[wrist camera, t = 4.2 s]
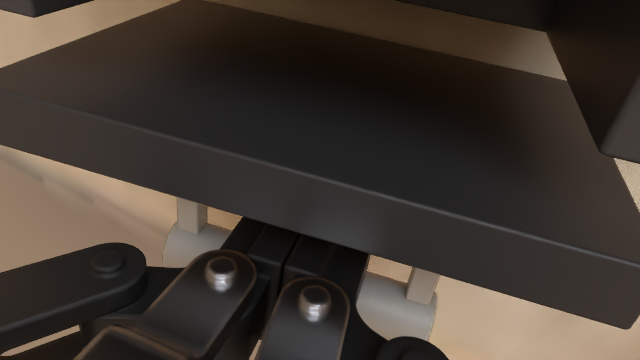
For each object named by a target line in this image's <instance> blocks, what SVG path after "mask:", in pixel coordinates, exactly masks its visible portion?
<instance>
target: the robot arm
mask: <svg viewBox="0 0 640 360" xmlns="http://www.w3.org/2000/svg"><path fill="white" fill-rule="evenodd" d="M370 255H371V254H368V253H365V252H361V251H358V250H355V249H351V248H348V247H345V246H341V245H338V244H334V243H331V242H328V241H324V240H321V239H318V238H314V237H311V236H307V235H304V234H301V233H297V232H294V231H291V230H287V229H284V228H280V227H277V226H274V225H270V224H267V223H264V222H260V221H257V220H253V219H250V218H247V217H242V219H241V220H240V221H239V223H238V224H237V226H236V227H235V228H234V230H233V231H232V232H231V234H230V235H229V236H228V238H227V239H226V241H225V242H224V243H223V245H222V246H221V247H220V249H219V250H212V251H208V252H205V253H203V254H200V255H199V256H197V257H196V258H194V259H193V260H192V261H191V262H190V263H189V264H188V265H187V267H182V268H169V267H150V266H149V267H148V266H146V258H145V256H144V254H143V253H142V252H141V251H140V250H139V249H138V248H136V247H134V246H132V245H129V244H125V243H104V244H100V245H96V246H93V247H89V248H85V249H82V250H79V251H75V252H71V253H68V254H65V255H61V256H57V257H54V258H51V259H47V260H43V261H40V262H36V263H33V264H30V265H26V266H22V267H19V268H15V269H12V270H9V271H5V272H1V273H0V355H1V354H2V353H4V352H6V351H8V350H10V349H13V348H16V347H18V346H21V345H24V344H27V343H29V342H32V341H35V340H38V339H41V338H43V337H46V336H49V335H52V334H54V333H57V332H60V331H62V330H65V329H68V328H71V327H73V326H76V325H79V328H80V331H78V332H75V333H72V334H70V335H67V336H64V337H62V338H59V339H56V340H53V341H51V342H48V343H45V344H43V345H40V346H37V347H35V348H32V349H29V350H26V351H24V352H21V353H18V354H15V355H12V356H0V360H249V357H250V356H251V354H252V352H253V350H254V348H255V346H256V344H257V342H258V340H262V341H261V344H260V346H259V349H258V352H257V354H256V357H255V359H254V360H449V359H448V358H447V357H446V355H445V354H444V353H443V352H442V351H441V350H440V349H438V348H437V347H436V346H434V345H433V344H431V343H429V342H428V341H425V340H423V339H420V338H417V337H411V336H401V337H395V338H393V339H390V340H389V341H388V340H387V339H385V338H384V337H382V336H381V335H379V334H378V333H376V332H375V331H373V330H372V329H371V328H370V327H369V326H368V325H367V324H366V323H365V322H364V321H363V320H362V318H361V316H360V315H359V313H358V310H357V307H356V303H357V300H358V297H359V293H360V290H361V287H362V283H363V280H364V277H365V274H366V271H367V267H368V263H369V259H370Z"/></svg>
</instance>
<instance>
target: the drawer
mask: <svg viewBox="0 0 640 360" xmlns="http://www.w3.org/2000/svg"><path fill="white" fill-rule="evenodd" d="M90 1H94V0H0V10H4V11H8V12H13V13H17V14H21V15H25V16H29V17H33V18H35V17H39V16H42V15H45V14H49V13H52V12H56V11H59V10H63V9H66V8H70V7H73V6H76V5H80V4H83V3H87V2H90ZM394 1H398V2H403V3H408V4H413V5H418V6H422V7H427V8H432V9H437V10H442V11H446V12H451V13H456V14H461V15H466V16H470V17H475V18H480V19H485V20H490V21H494V22H499V23H504V24H509V25H514V26H518V27H523V28H528V29H533V30H537V31H542V32H546V34H547V36H548V38H549V40H550V43H551V45H552V47H553V50H554V52H555V54H556V56H557V59H558V61H559V63H560V65H561V68H562V70H563V72H564V74H565V77H566V79H567V81H565V80H560V79H556V78H551V77H547V76H542V75H538V74H533V73H529V72H524V71H520V70H515V69H511V68H506V67H502V66H497V65H493V64H488V63H484V62H479V61H475V60H470V59H466V58H461V57H457V56H452V55H448V54H443V53H439V52H434V51H430V50H425V49H421V48H416V47H412V46H407V45H403V44H398V43H394V42H389V41H385V40H380V39H376V38H371V37H367V36H362V35H358V34H353V33H349V32H345V31H340V30H336V29H331V28H327V27H322V26H318V25H313V24H309V23H304V22H300V21H295V20H291V19H286V18H282V17H277V16H273V15H268V14H264V13H259V12H255V11H250V10H246V9H241V8H237V7H232V6H228V5H223V4H219V3H214V2H210V1H205V0H181V1H179V2H176V3H173V4H171V5H168V6H165V7H163V8H160V9H157V10H155V11H152V12H149V13H147V14H144V15H141V16H139V17H136V18H133V19H131V20H128V21H125V22H123V23H120V24H117V25H115V26H112V27H109V28H107V29H104V30H101V31H99V32H96V33H93V34H91V35H88V36H85V37H83V38H80V39H77V40H75V41H72V42H69V43H67V44H64V45H61V46H59V47H56V48H53V49H51V50H48V51H45V52H43V53H40V54H37V55H35V56H32V57H29V58H27V59H24V60H21V61H19V62H16V63H13V64H11V65H8V66H5V67H3V68H0V145H4V146H7V147H10V148H14V149H17V150H20V151H24V152H27V153H31V154H34V155H37V156H41V157H44V158H47V159H51V160H54V161H58V162H61V163H64V164H68V165H71V166H74V167H78V168H81V169H85V170H88V171H91V172H95V173H98V174H101V175H105V176H108V177H112V178H115V179H118V180H122V181H125V182H129V183H132V184H135V185H139V186H142V187H145V188H149V189H152V190H156V191H159V192H162V193H166V194H169V195H172V196H176V197H177V222H176V223H175V224H174V225H173V227H172V228H171V230H170V232H169V234H168V236H167V239H166V241H165V245H164V248H163V255H162V260H163V265H164V267H169V268H182V267H187V265H188V264H189V263H190V262H191V261H192V260H193V259H194V258H196V257H197V256H199V255H200V254H203V253H205V252H208V251H212V250H219V249H220V247H221V246H222V245H223V243H224V242H225V241H226V239H227V238H228V236H229V235H230V234H231V232H232V230H229V229H226V228H222V227H219V226H216V225H212V224H209V223H207V211H208V206H210V207H213V208H216V209H220V210H223V211H226V212H230V213H233V214H237V215H240V216H243V217H247V218H250V219H253V220H257V221H260V222H264V223H267V224H270V225H274V226H277V227H280V228H284V229H287V230H291V231H294V232H297V233H301V234H304V235H307V236H311V237H314V238H318V239H321V240H324V241H328V242H331V243H334V244H338V245H341V246H345V247H348V248H351V249H355V250H358V251H361V252H365V253H368V254H372V255H375V256H378V257H382V258H385V259H388V260H392V261H395V262H399V263H402V264H405V265H409V266H412V270H411V273H410V276H409V279H408V282H407V283H404V282H401V281H398V280H394V279H391V278H388V277H384V276H381V275H378V274H374V273H371V272H368V271H366V274H365V277H364V280H363V283H362V287H361V290H360V293H359V297H358V300H357V303H356V307H357V310H358V313H359V315H360V316H361V318H362V320H363V321H364V322H365V323H366V324H367V325H368V326H369V327H370V328H371V329H372V330H373V331H375V332H376V333H378V334H379V335H381V336H382V337H384V338H385V339H387V340H388V341H389V340H390V339H393V338H395V337H401V336H411V337H417V338H420V339H423V340H425V341H428V340H429V337H430V334H431V330H432V327H433V323H434V318H435V313H436V308H437V293H436V292H434V290H435V288H436V285H437V282H438V280H439V277H440V275H443V276H446V277H449V278H453V279H456V280H459V281H463V282H466V283H470V284H473V285H476V286H480V287H483V288H486V289H490V290H493V291H497V292H500V293H503V294H507V295H510V296H513V297H517V298H520V299H524V300H527V301H530V302H534V303H537V304H540V305H544V306H547V307H551V308H554V309H557V310H561V311H564V312H567V313H571V314H574V315H578V316H581V317H584V318H588V319H591V320H594V321H598V322H601V323H605V324H608V325H611V326H615V327H618V328H621V329H630V328H631V326H632V325H633V324H634V322H635V321H636V320H637V318H638V317H639V315H640V212H639V210H638V208H637V206H636V204H635V202H634V200H633V198H632V195H631V193H630V191H629V189H628V187H627V185H626V183H625V181H624V179H623V177H622V175H621V173H620V171H619V169H618V167H617V165H616V163H615V160H614V158H617V159H621V160H626V161H630V162H634V163H638V164H640V0H394Z"/></svg>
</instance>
